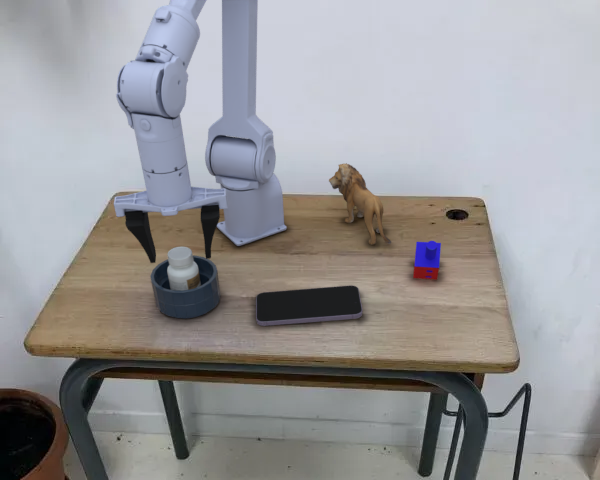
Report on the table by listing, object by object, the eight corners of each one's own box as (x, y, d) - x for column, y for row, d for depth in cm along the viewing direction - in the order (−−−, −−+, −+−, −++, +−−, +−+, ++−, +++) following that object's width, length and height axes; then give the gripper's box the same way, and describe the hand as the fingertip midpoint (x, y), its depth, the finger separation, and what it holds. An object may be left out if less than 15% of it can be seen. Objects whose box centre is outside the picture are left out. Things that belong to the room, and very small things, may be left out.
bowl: (203, 276, 106) (199, 248, 103) (232, 306, 100) (228, 277, 97) (146, 297, 103) (140, 268, 99) (172, 329, 97) (167, 300, 94)
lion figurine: (325, 214, 119) (324, 164, 113) (350, 205, 121) (351, 155, 115) (378, 251, 110) (380, 199, 103) (404, 241, 112) (408, 189, 105)
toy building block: (412, 283, 106) (415, 256, 98) (414, 259, 107) (417, 230, 100) (436, 285, 105) (440, 258, 98) (438, 260, 107) (442, 232, 99)
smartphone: (256, 292, 102) (357, 284, 101) (256, 298, 102) (357, 290, 102) (255, 322, 96) (363, 314, 96) (256, 329, 97) (363, 320, 97)
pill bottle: (200, 307, 99) (192, 261, 94) (170, 307, 100) (160, 261, 94) (205, 290, 103) (198, 244, 97) (176, 289, 103) (167, 244, 98)
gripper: (102, 182, 84) (126, 277, 93) (222, 173, 84) (233, 268, 94) (109, 157, 89) (130, 249, 98) (221, 149, 89) (232, 241, 99)
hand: (181, 256), depth 96 cm, fingers open, 7 cm apart
